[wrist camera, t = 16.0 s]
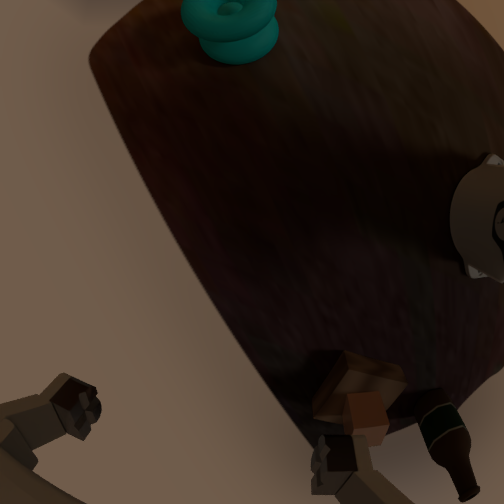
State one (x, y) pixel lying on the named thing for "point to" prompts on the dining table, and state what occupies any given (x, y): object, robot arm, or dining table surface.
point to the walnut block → (356, 384)
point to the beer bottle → (447, 440)
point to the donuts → (232, 28)
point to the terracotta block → (365, 416)
